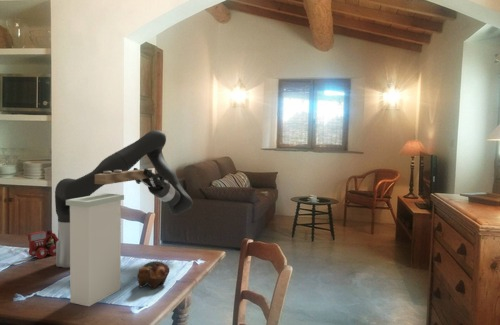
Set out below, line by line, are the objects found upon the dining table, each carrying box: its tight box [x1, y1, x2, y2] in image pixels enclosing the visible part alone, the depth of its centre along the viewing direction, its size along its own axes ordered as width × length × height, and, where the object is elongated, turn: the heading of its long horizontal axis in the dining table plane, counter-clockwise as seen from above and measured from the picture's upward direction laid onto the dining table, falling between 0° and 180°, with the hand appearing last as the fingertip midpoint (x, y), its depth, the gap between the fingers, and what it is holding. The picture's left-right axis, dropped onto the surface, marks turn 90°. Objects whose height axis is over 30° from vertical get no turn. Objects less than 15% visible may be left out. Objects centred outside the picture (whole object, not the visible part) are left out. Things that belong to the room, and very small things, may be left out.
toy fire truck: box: [27, 229, 58, 259], centre depth 159 cm, size 7×12×10 cm, turn 147°
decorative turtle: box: [137, 261, 170, 290], centre depth 129 cm, size 10×15×8 cm, turn 165°
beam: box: [95, 168, 153, 186], centre depth 131 cm, size 25×4×4 cm, turn 160°
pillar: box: [66, 192, 125, 307], centre depth 119 cm, size 16×8×31 cm, turn 160°
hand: (139, 170), depth 138 cm, fingers closed on beam, 4 cm apart
